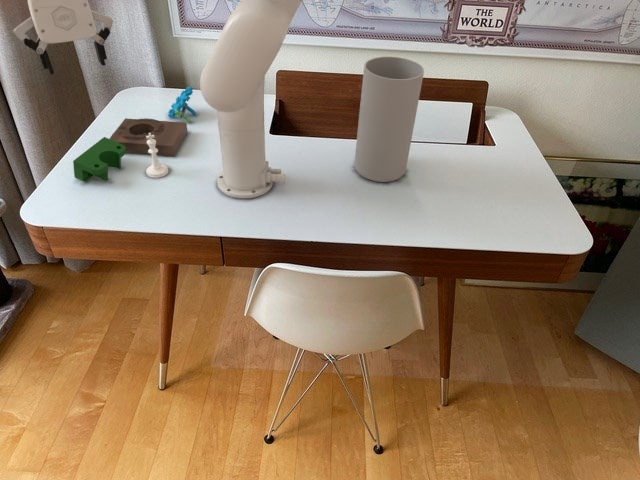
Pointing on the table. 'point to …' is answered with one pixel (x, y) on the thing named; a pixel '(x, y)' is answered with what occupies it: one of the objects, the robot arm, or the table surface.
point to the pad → (164, 132)
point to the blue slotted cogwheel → (182, 105)
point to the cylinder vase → (387, 117)
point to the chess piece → (155, 160)
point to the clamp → (98, 160)
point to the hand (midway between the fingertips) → (77, 67)
